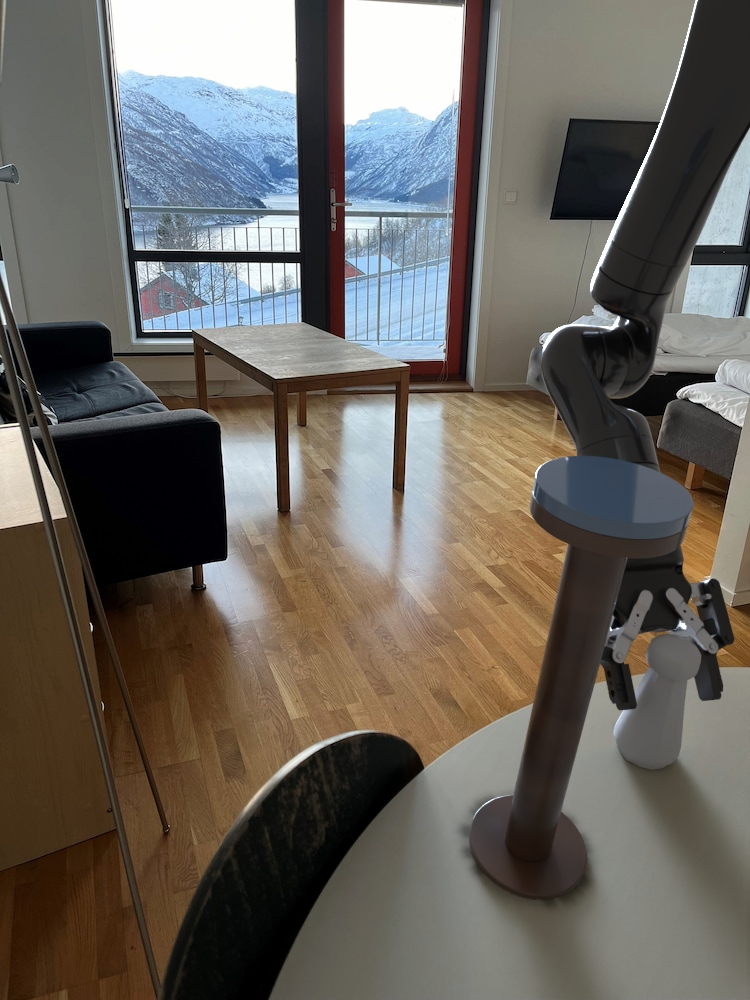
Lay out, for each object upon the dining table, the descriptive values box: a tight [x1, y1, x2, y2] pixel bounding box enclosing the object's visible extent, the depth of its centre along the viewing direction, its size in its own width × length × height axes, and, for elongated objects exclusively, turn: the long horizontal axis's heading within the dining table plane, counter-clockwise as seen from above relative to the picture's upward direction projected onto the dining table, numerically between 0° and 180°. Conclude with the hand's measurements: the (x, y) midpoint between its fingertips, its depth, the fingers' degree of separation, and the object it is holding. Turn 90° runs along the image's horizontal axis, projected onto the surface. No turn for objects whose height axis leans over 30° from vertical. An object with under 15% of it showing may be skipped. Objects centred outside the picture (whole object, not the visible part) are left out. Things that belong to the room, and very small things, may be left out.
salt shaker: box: [613, 633, 701, 771], centre depth 65 cm, size 6×6×13 cm
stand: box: [468, 490, 690, 901], centre depth 51 cm, size 9×9×31 cm
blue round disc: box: [532, 455, 694, 539], centre depth 43 cm, size 9×9×1 cm
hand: (669, 704), depth 63 cm, fingers open, 7 cm apart
